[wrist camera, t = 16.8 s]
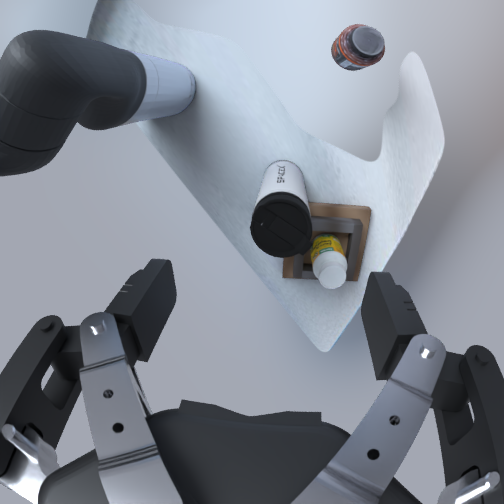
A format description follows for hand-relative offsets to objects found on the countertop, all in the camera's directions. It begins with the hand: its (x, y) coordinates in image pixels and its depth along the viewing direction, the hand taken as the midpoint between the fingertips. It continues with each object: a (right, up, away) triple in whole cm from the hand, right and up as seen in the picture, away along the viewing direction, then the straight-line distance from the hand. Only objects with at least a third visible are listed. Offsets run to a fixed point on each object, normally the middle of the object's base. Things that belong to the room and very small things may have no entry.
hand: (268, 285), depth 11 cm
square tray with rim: (+12, +3, +38) cm, 40 cm away
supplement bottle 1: (+12, +2, +37) cm, 39 cm away
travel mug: (+4, +13, +34) cm, 37 cm away
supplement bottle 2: (+14, +31, +23) cm, 41 cm away
